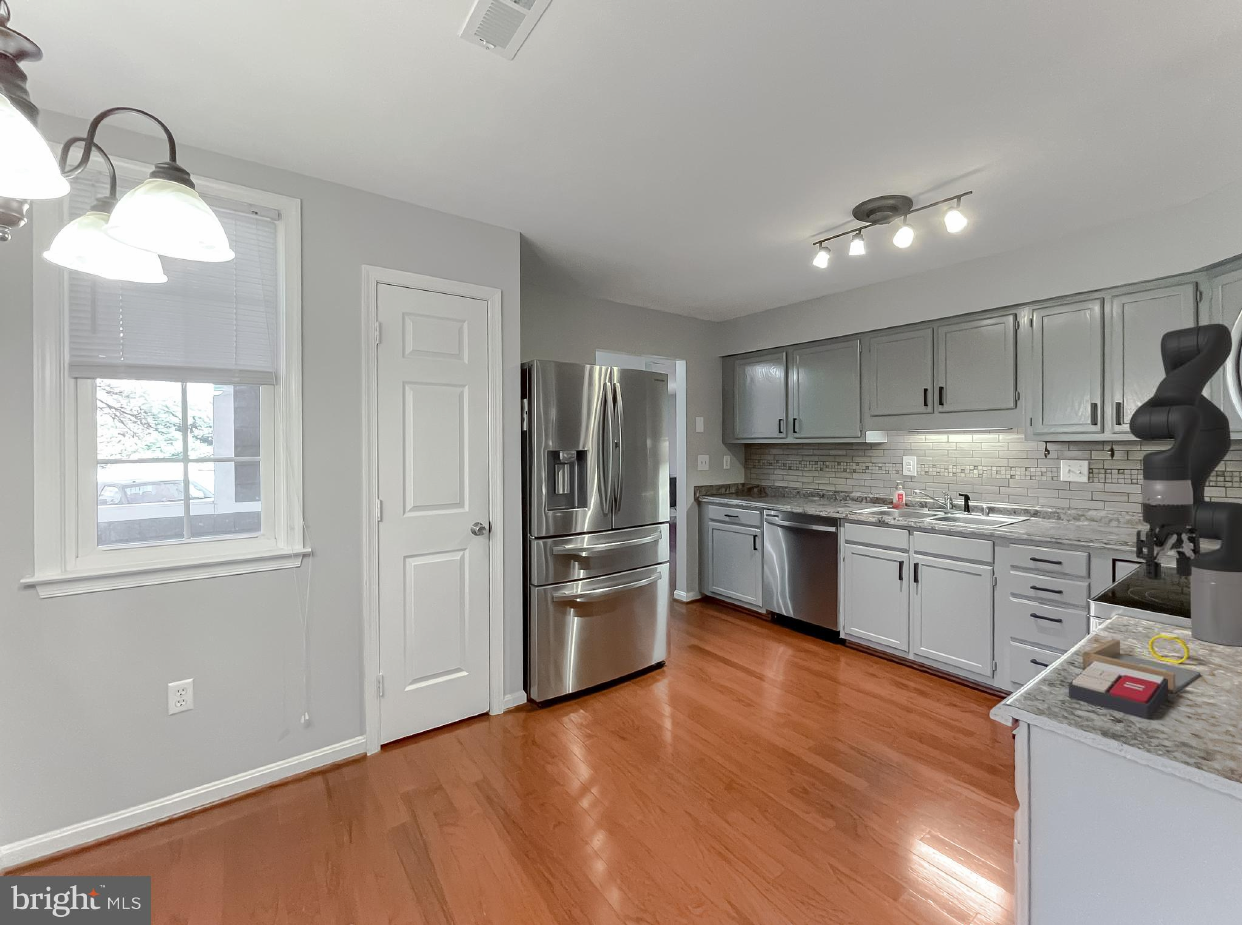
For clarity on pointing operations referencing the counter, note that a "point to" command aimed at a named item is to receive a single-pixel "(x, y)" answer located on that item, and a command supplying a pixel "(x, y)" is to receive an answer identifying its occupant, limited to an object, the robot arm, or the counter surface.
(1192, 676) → the corner tray
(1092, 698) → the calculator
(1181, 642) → the watch
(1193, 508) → the robot arm
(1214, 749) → the counter surface
